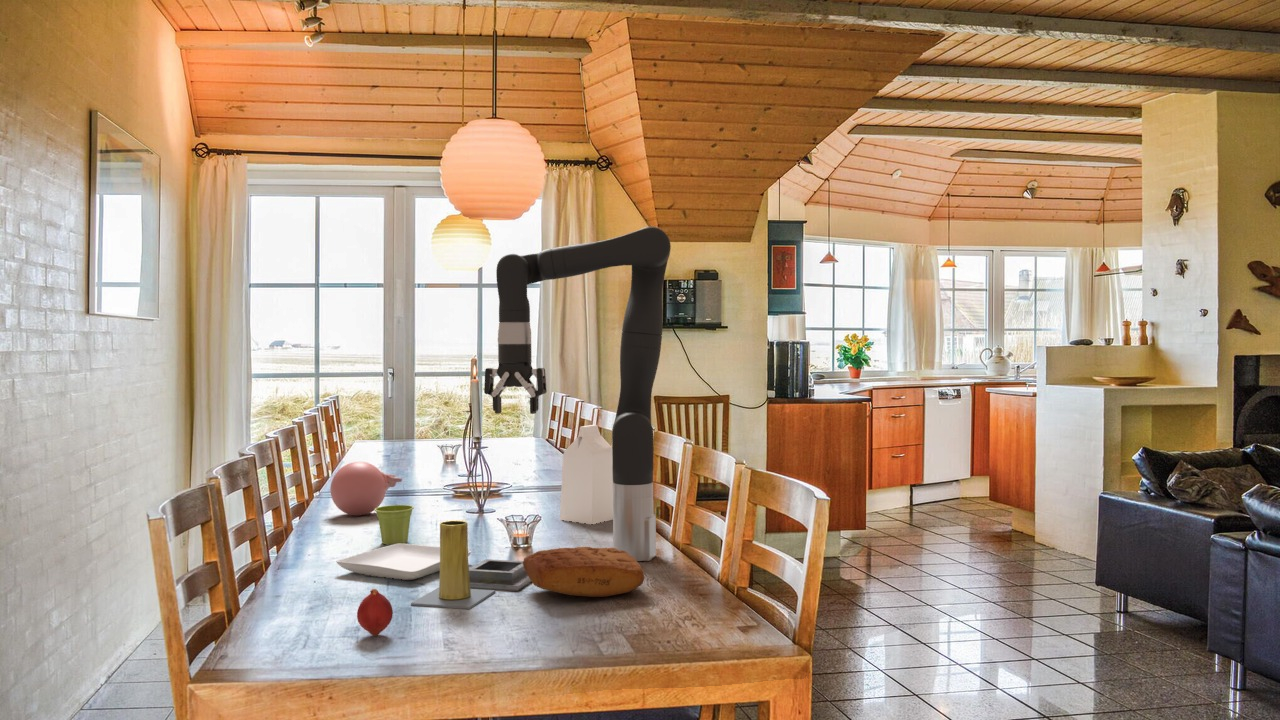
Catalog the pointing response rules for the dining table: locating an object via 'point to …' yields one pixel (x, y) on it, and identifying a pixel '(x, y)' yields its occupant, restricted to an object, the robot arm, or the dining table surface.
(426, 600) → the pad
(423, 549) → the salad plate
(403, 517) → the plant pot
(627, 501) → the robot arm
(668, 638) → the dining table surface
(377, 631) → the onion
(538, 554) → the cuneiform tablet
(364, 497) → the pink balloon
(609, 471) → the milk
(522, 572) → the grey square socket base
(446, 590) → the vase
